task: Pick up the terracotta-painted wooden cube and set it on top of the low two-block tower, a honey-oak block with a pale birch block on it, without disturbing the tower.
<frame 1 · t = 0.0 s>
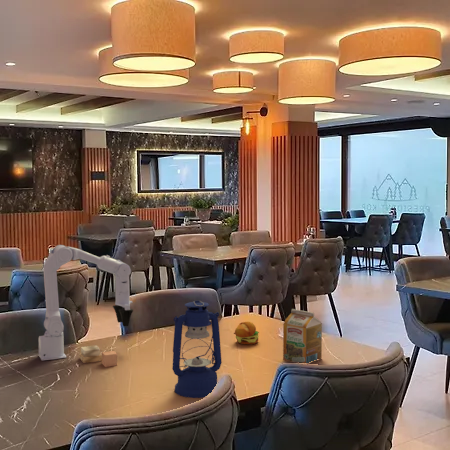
hand: (123, 324, 254), 10 cm above the table, fingers open, 7 cm apart
top block: (90, 354, 239), point 2 cm above the table, touching bottom block
cheeseburger: (247, 343, 263), on the table
bottom block: (90, 360, 239), on the table, touching top block
milk carton: (302, 359, 238), on the table
cube: (109, 364, 232), on the table
lantern: (197, 390, 204), on the table
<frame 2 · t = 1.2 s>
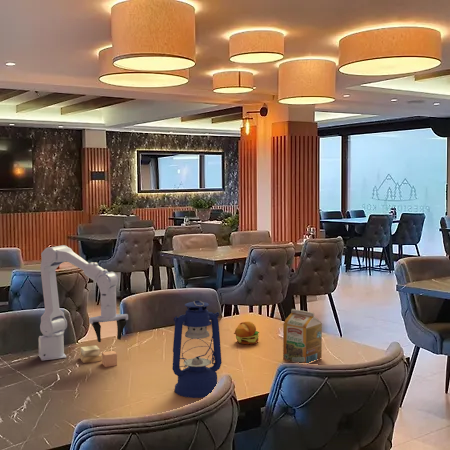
hand: (109, 340, 232), 9 cm above the table, fingers open, 7 cm apart
nothing on the table moved.
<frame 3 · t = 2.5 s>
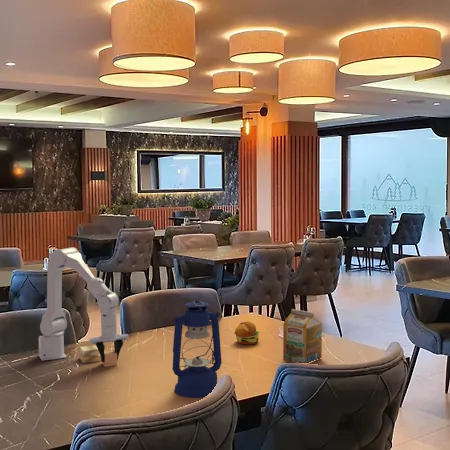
hand: (109, 360, 232), 1 cm above the table, fingers closed on cube, 4 cm apart
cube: (109, 364, 232), on the table, touching gripper
everything else where it was.
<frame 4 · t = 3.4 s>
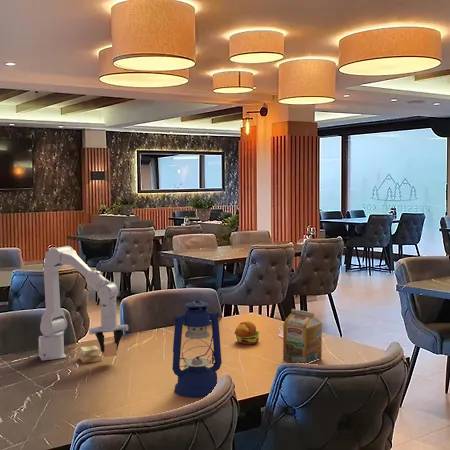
hand: (109, 350, 232), 5 cm above the table, fingers closed on cube, 4 cm apart
cube: (109, 354, 232), point 4 cm above the table, touching gripper
everything else where it was.
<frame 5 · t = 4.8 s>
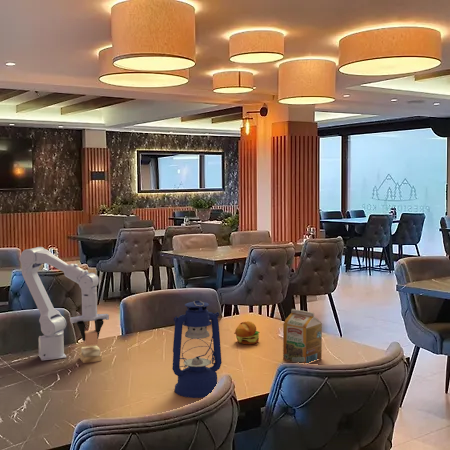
hand: (90, 339, 238), 8 cm above the table, fingers closed on cube, 4 cm apart
top block: (90, 354, 238), point 2 cm above the table
bottom block: (90, 360, 239), on the table
cube: (90, 343, 238), point 6 cm above the table, touching gripper
everything else where it was.
when the fingers open (7 cm above the table, at t = 5.7 s): cube drops 1 cm, resting on top block.
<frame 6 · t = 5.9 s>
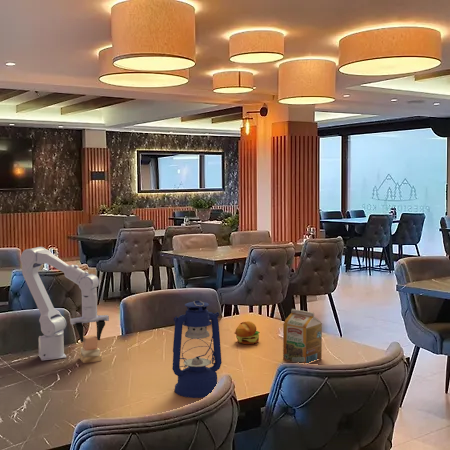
hand: (90, 340, 238), 7 cm above the table, fingers open, 6 cm apart
top block: (90, 354, 238), point 2 cm above the table, touching cube
cube: (90, 348, 239), point 4 cm above the table, touching top block
everything else where it was.
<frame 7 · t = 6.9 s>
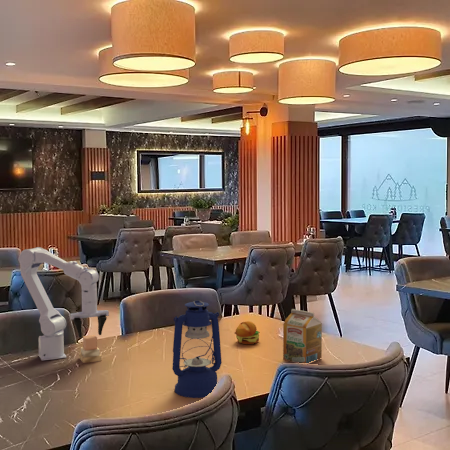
hand: (90, 335, 238), 9 cm above the table, fingers open, 7 cm apart
top block: (90, 354, 238), point 2 cm above the table, touching bottom block, cube
bottom block: (90, 360, 239), on the table, touching top block
everything else where it was.
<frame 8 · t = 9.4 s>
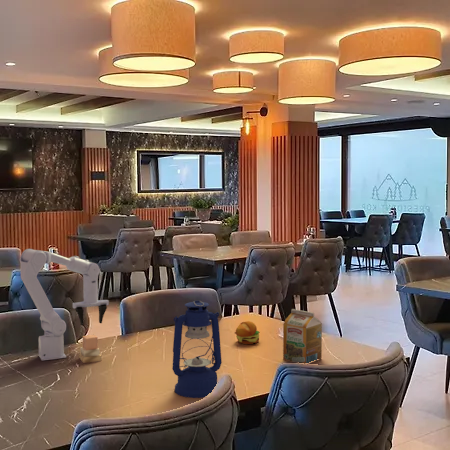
hand: (91, 323, 253), 10 cm above the table, fingers open, 7 cm apart
nothing on the table moved.
at the end: cube 0.1 cm off-centre on the top block, point 2.5 cm above the top block's base; cube tilted 0°; top block moved 0.6 cm from its start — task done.
